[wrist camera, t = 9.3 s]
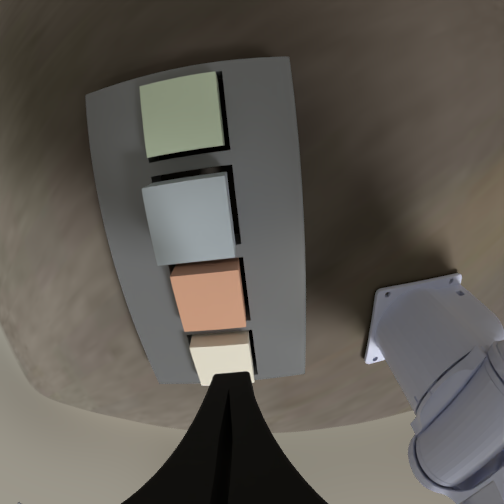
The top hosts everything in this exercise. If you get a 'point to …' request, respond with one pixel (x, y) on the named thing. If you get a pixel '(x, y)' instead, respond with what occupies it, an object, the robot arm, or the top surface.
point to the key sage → (182, 114)
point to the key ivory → (221, 354)
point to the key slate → (190, 219)
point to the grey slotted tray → (248, 206)
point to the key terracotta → (209, 294)
